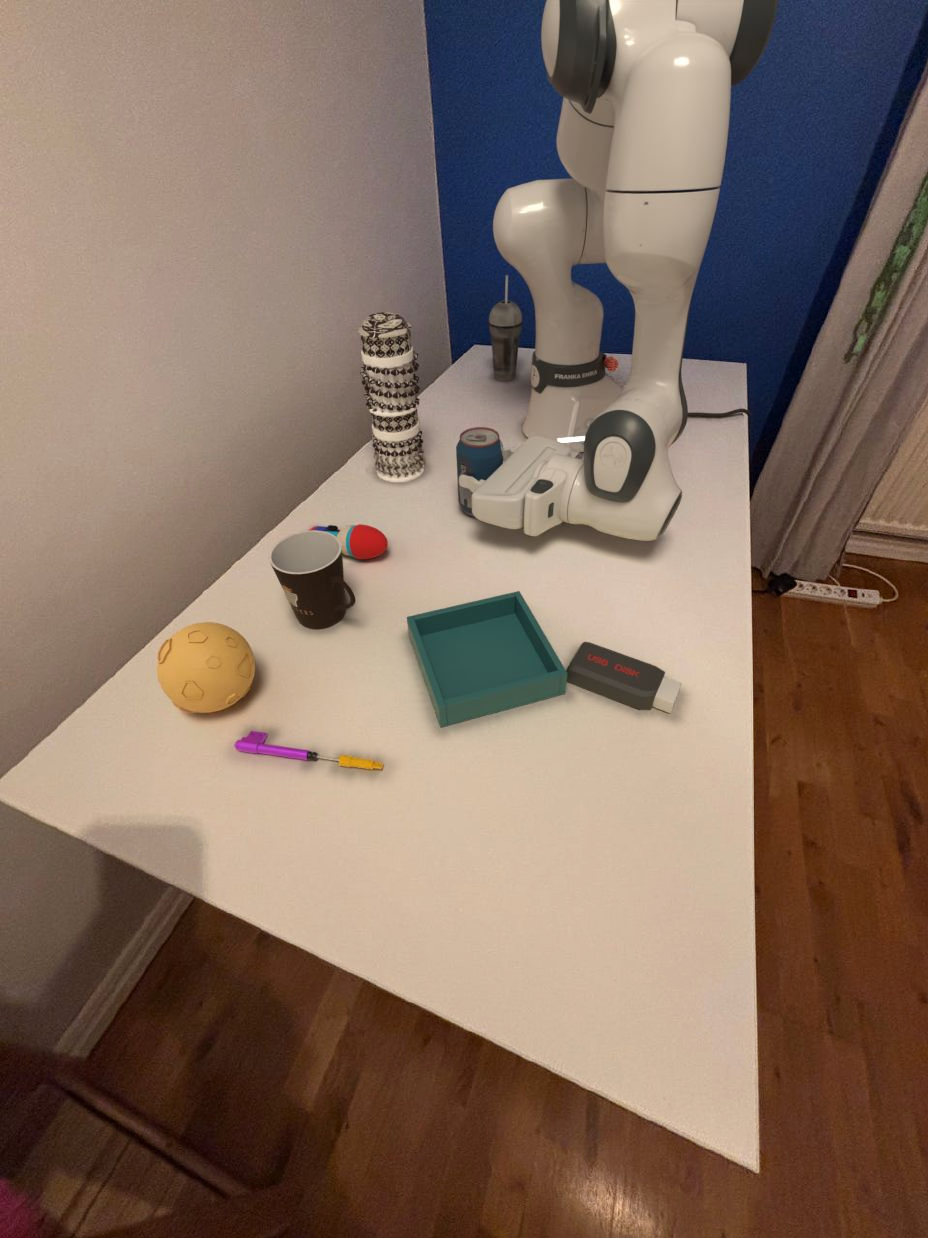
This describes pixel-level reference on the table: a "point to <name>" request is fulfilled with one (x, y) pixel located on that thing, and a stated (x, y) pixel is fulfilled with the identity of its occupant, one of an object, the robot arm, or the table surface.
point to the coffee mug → (312, 577)
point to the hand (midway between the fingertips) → (474, 465)
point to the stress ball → (205, 667)
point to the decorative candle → (392, 396)
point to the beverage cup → (505, 337)
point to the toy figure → (358, 540)
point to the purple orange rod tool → (297, 752)
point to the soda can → (477, 459)
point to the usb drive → (622, 678)
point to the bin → (484, 658)
